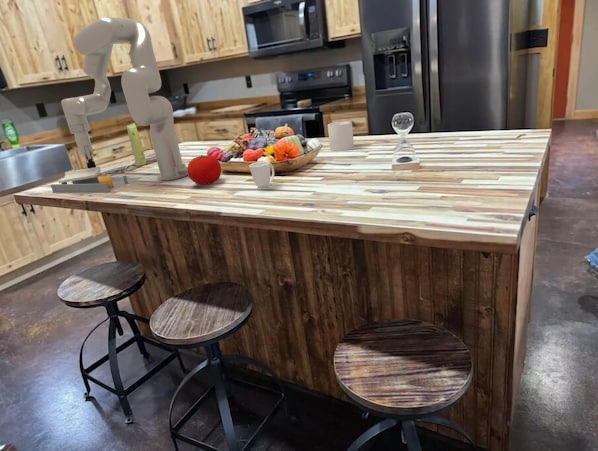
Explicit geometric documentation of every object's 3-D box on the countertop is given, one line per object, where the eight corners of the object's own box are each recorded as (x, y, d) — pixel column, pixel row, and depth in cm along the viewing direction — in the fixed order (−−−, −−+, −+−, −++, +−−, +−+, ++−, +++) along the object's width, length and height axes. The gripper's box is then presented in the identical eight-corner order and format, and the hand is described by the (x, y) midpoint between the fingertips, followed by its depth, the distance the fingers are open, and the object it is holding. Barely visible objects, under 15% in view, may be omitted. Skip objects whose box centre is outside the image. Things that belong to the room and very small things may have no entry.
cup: (248, 190, 139) (244, 166, 136) (267, 181, 146) (263, 158, 144) (265, 191, 135) (261, 167, 132) (283, 182, 143) (279, 159, 140)
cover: (103, 178, 182) (99, 166, 180) (97, 184, 172) (93, 172, 170) (67, 184, 180) (62, 172, 178) (59, 191, 170) (54, 178, 168)
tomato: (228, 177, 158) (222, 150, 154) (213, 188, 147) (207, 158, 143) (201, 179, 161) (195, 152, 157) (185, 189, 150) (178, 160, 147)
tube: (148, 164, 203) (137, 123, 196) (137, 166, 200) (126, 125, 193) (145, 162, 207) (134, 122, 200) (135, 165, 205) (123, 124, 198)
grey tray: (143, 177, 176) (140, 169, 175) (108, 193, 160) (105, 184, 159) (90, 179, 188) (88, 171, 187) (53, 193, 171) (50, 184, 170)
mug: (325, 147, 187) (322, 123, 183) (346, 143, 189) (344, 119, 185) (334, 152, 175) (331, 126, 171) (357, 148, 177) (355, 122, 173)
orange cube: (115, 185, 168) (112, 173, 166) (108, 188, 164) (104, 176, 162) (106, 186, 169) (102, 174, 168) (98, 189, 165) (94, 177, 164)
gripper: (68, 129, 180) (82, 170, 187) (71, 131, 168) (85, 176, 175) (87, 125, 183) (100, 166, 190) (91, 128, 171) (104, 171, 178)
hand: (93, 171), depth 182 cm, fingers closed
